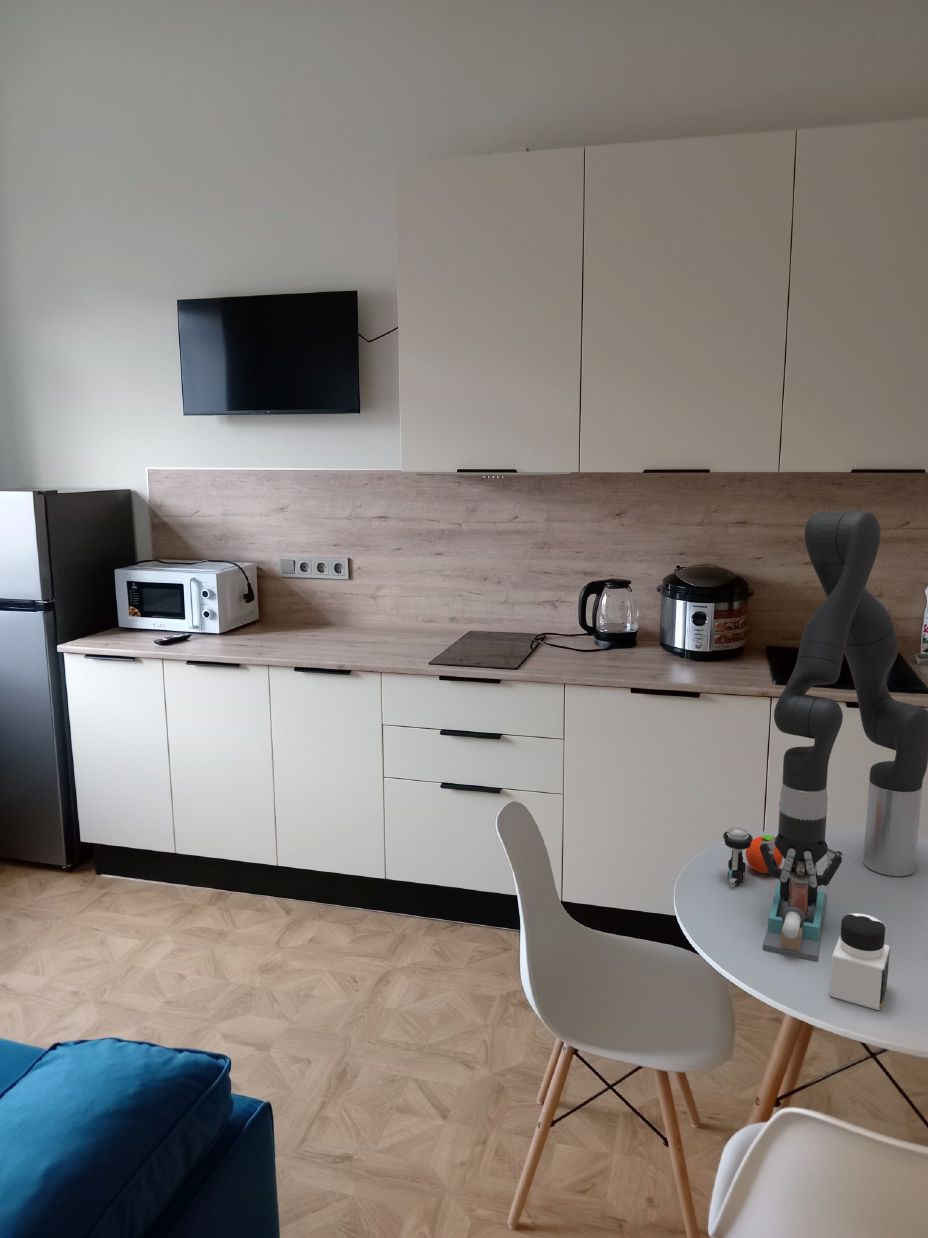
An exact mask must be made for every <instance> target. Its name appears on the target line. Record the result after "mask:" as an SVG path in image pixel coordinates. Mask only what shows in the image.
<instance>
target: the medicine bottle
mask: <svg viewBox="0 0 928 1238" xmlns="http://www.w3.org/2000/svg"><path fill="white" fill-rule="evenodd" d="M840 924H841V926H840V934H839V936H838V939H837V942H836V944H835V947H834V949H833V953H832V956H831V970H830V982H829V996H830V997H832V998H834V999H838V1000H842V1001H845V1002H848V1003H852V1004H856V1005H858V1006H862V1007H865V1008H869V1009H872V1010H876V1011H880V1010H881V1008H882V1005H883V1002H884V998H885V995H886V991H887V990H886V989H887V987H888V975H889V965H890V964H889V963H890V952H891V951H890V950H891V948H890V945H888V944H885V938H886V937H885V936H886V926H885V925H884V923H883V922H882V921H881V920H879V919H878V918H876V917H874V916H872V915H869V914H864V913H857V912H856V913H849V914H846V915H845V916H843V917H842V919H841V923H840Z"/></svg>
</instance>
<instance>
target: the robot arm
mask: <svg viewBox="0 0 928 1238" xmlns="http://www.w3.org/2000/svg"><path fill="white" fill-rule="evenodd" d="M804 542H805V548H806V552H807V554H808V557H809V560H810V562H811V565H812V567H813V569H814V571H815V574H816V576H817V578H818V580H819V582H820V584H821V586H822V589H823V591H824V593H825V597H826V599H825V600H824V601H823V603H821V605H820V606H819V607H818V608H817V609H816V611H815V612H814V613H813V614H812V615H811V617H810V618H809V620H808V621H807V623H806V625H805V626H804V629H803V632H802V635H801V640H800V645H799V648H798V652H797V653H798V654H797V659H796V663H795V666H794V669H793V670H792V673H791V676H790V677H789V680H788V682H787V684H786V685H785V687H784V689H783V691H782V692H781V694H780V696H779V697H778V700H777V702H776V704H775V707H774V712H773V719H774V723H775V725H776V727H777V729H778V730H779V731H780V732H782V733H784V734H787V735H792V736H798V737H802V738H807V739H813V740H814V743H813V745H812V746H809V745H808V746H793V747H790V748H788V749H787V750H786V751H785V752H784V756H783V765H782V767H783V768H782V781H781V782H782V783H781V788H780V793H779V802H778V805H779V806H778V807H779V808H778V809H779V810H778V812H779V813H778V814H779V815H778V828H777V829H778V833H777V836H775V840H774V839H773V840H771V841H767V840H762V842H761V844H760V851H761V853H762V856H763V859H764V861H765V864H766V866H767V869H768V872H769V873H768V874H769V876H770V877H771V878H777V879H778V880H779V881H780V882H779V884H780V897H781V898H784V901H785V902H788V899H789V877H790V876H789V873H790V869H791V866H792V865H797V861H802V862H804V865H805V867H806V868H807V874H808V875H810V882H809V886H808V902H807V906H812V903H814V904H815V903H816V900H817V891H818V888H819V887H820V886H824V887H828V885H829V884H830V882H831V881H832V879H833V877H834V876H835V874H836V873H837V870H838V869H839V867H840V866H841V864H842V862H843V861H842V860H843V853H842V852H841V851H839V850H838V851H834V850H833V849H831V848H829V846H828V843H827V841H826V831H827V829H826V827H827V812H828V791H827V787H828V786H827V785H828V771H829V770H828V768H829V761H830V758H831V754H832V750H833V747H834V744H835V742H836V739H837V737H838V735H839V732H840V730H841V727H842V724H843V719H844V715H843V710H842V707H841V706H840V704H839V703H838V701H836V700H834V699H832V698H829V697H823V696H816V695H811V694H807V692H808V691H809V690H810V689H811V688H813V687H815V686H821V685H823V686H825V685H833V684H836V683H837V681H838V680H839V678H840V676H841V670H842V664H843V660H844V656H845V659H846V660H847V664H848V667H849V670H850V673H851V677H852V681H853V684H854V690H855V693H856V699H857V703H858V708H859V714H860V719H861V724H862V728H863V732H864V734H865V736H866V737H867V738H868V741H871V742H872V743H873V744H875V745H878V746H880V747H883V748H887V749H890V750H893V751H895V757H894V760H887V761H885V760H884V761H880V762H877V763H874V764H872V765H871V767H870V770H869V779H868V789H867V791H868V793H867V807H866V821H865V833H864V835H865V836H864V849H863V863H864V866H866V868H868V869H869V870H871V871H873V872H876V873H877V874H882V875H885V876H890V877H907V876H910V875H912V874H914V873H915V871H916V864H917V852H918V839H919V831H920V830H919V827H920V817H921V805H922V795H923V794H922V793H923V791H922V790H923V781H924V778H925V776H926V772H927V769H928V710H927V709H926V708H924V707H922V706H919V705H915V704H912V703H907V702H903V701H899V700H895V699H894V698H893V697H892V696H891V694H890V691H889V688H888V685H887V676H888V674H889V673H890V670H891V668H892V667H893V665H894V663H895V661H896V659H897V657H898V653H899V641H898V636H897V633H896V629H895V625H894V622H893V620H892V617H891V615H890V613H889V612H888V610H887V609H886V608H885V607H884V605H883V604H882V603H881V602H880V601H879V600H878V599H877V598H876V596H874V595H873V594H872V593H870V591H869V590H867V589H866V586H867V583H868V580H869V577H870V575H871V572H872V570H873V567H874V564H875V561H876V559H877V555H878V552H879V548H880V543H881V526H880V523H879V520H878V518H877V517H876V515H875V514H874V513H873V512H871V511H868V510H843V511H842V510H841V511H839V510H836V511H824V512H817V513H814V514H812V515H811V516H810V517H809V518H808V519H807V521H806V524H805V527H804ZM775 847H777V849H778V850H779V852H780V853H781V855H782V856H783V859H784V863H783V865H782V868H781V867H778V866H777V863H776V861H775V858H774V855H773V853H774V850H775V849H774V848H775ZM825 856H826V857H827V859H826V862H827V866H826V868H825V869H824V871H823V873H821V874H818V869H817V863H818V862H819V861H820V860H821V859H823V858H824V857H825Z"/></svg>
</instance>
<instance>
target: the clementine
mask: <svg viewBox="0 0 928 1238" xmlns="http://www.w3.org/2000/svg"><path fill="white" fill-rule="evenodd" d="M775 838H776V836H772V835H768V834H767V835H763V836H757V837H755V838H753V840H752V842H751V846H750V847H749V848H746V849H745V859H746V861H747V863H748V865H749V866H750V867H751V868H752V869H753V870H755V871H756V872H758V873H760V874H761V873H762V874H769V872H768V869H767V866H766V864H765V861H764V859H763V856H762V853H761V851H760V844H761V842H762V840H767V841H771V840H775ZM774 849H775V850H774V853H773V855H774V858H775V861H776V863H777V866H778V867H779V868H781V865H782V862H783V859H784V858H783V856H782V855H781V853H780V852H779V850H778V849H777V847H775V848H774Z"/></svg>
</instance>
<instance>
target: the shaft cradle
mask: <svg viewBox="0 0 928 1238" xmlns="http://www.w3.org/2000/svg"><path fill="white" fill-rule="evenodd" d="M808 886H809V885H808ZM789 894H790V892H789ZM827 895H828V894H827V893H826V892H825V891H823V890H817V900H816V903H815V904H814V903H812V906H808V908H809V909H808V918H807V921H806V922H805V914H804V912H803V911H802V910H801V909H800V908H798V907H795V906H789V907H788V902H785V901H784V898H781V897H780V883H776V888H775V891H774V895H773V899H772V904H771V908H770V911H769V914H768V921H767V922H768V923H767V924H768V925H767V929H766V933H765V936H764V941H763V944H762V951H764V952H770V953H775V954H780V955H783V956H789V957H794V958H799V959H803V960H807V961H813V962H818V960H819V959H818V958H819V952H820V951H819V950H820V946H821V945H820V944H821V938H822V932H821V931H823V924H824V917H825V916H824V915H825V911H826V903H827ZM788 901H789V899H788Z"/></svg>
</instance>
